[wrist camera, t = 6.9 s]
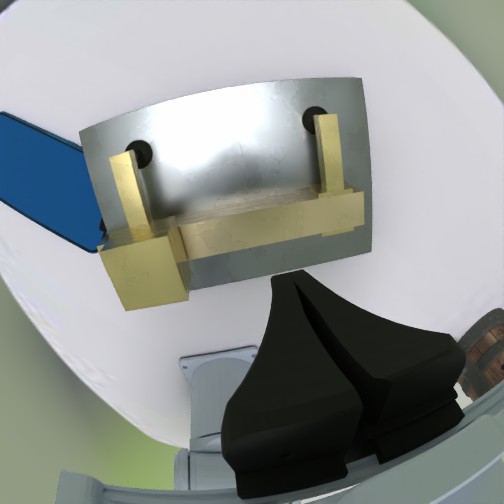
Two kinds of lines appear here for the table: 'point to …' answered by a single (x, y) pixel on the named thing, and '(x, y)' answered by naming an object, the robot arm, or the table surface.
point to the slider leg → (144, 246)
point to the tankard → (483, 355)
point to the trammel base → (247, 175)
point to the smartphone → (49, 182)
